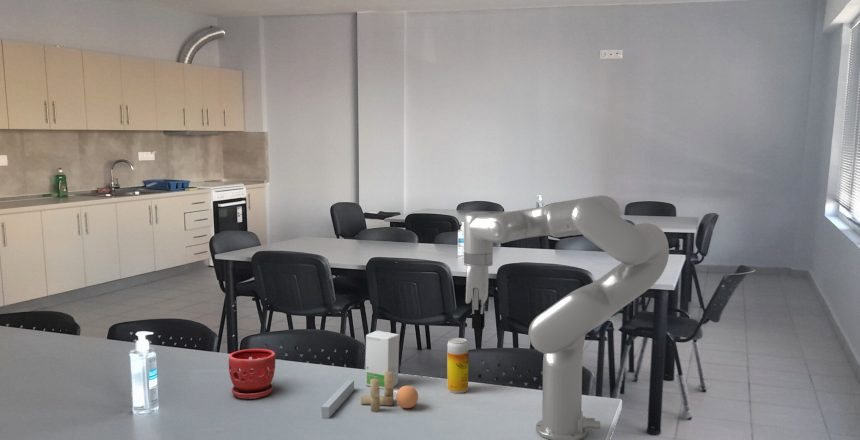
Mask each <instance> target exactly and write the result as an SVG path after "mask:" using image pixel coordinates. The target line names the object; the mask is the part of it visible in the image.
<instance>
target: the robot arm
mask: <svg viewBox="0 0 860 440" xmlns="http://www.w3.org/2000/svg"><path fill="white" fill-rule="evenodd" d="M577 235H578V236H579V235H582V236H583V237H584V238H586V239H587V240H589V241H590V243H592V244H593V245H595V246H596V247H597V248H599V249H600V250H602V251H604V252H605V253H607V254H608V255H609V256H610V257H612V258H613V259H615V260H616V261H618V263H619V264H618V265H616V266H614V268H611V269H610V270H609V271H608V272H606V274H604V275H603V276H601V277H599V278H598V279H596V280H595V281H593V282H591V283H589V284H586V285H583V286H581V287H579V288H577V289H575V290H573V291H570V292H569V293H568V294H567V295H565V296H563V297H562V298H560V299H559V300H558V301H557V302H555V303H554V304H552V305H551V306H549V307H548V308H547V309H545V310H544V311H543V312H541V313H539V314H538V315H537V316H536V317H534V318H533V320H532V321H531V322H530V324H529V327H528V339H529V342H530V344H531V345H532V347H533V348H534V349H535V350H536V351H538V352H539V353H542V354H543V358H542V359H543V360H542V401H541V402H542V410H541V411H542V414H541V415H542V417H541V420H540V421H538V422H537V423H536V425H535V432H536V433H537V434H538V435H540V437H543V438H545V439H548V440H582V439H584V438H586V436H587V435H588V429H593V430H594V429H595V430H601V421H600V420H596V418H595V417H586V416H584V415H583V414H584V413H583V410H582V407H583V406H582V404H583V401H582V397H583V395H582V394H583V391H582V390H583V389H582V387H583V358H584V357H583V356H584V355H583V354H584V347H585V342H586V341H585V339H586V335H587V334H588V333H590V332H591V331H593V330H595V329H596V328H597V327H599V326H600V325H602V324H604V323H605V322H607V321H608V320H609V319H610V318H611V317H613V316H614V315H615V314H616V313H617V312H619V311H620V310H621V309H623V308H624V307H626V306H628V305H629V304H631V303H632V302H633V301H634V300H635V299H637V298H639V297H640V296H642V295H643V294H644V293H646V292H647V291H648V290H650V288H651V287H653V286H654V285H655V284H656V283H657V281H659V279H660V278H661V276H662V275H663V273H664V272H665V270H666V268H667V265H668V261H669V255H670V247H669V241H668V238H667V236H666V234H665V232H664V231H663V230H662V229H661V227H659V226H657V225H656V224H652V223H649V222H648V223H646V222H643V223H638V224H634V225H633V224H632V223H630V222H628V220H626V219H624V218H623V217H621V208H620V205H619V203H618V202H617V200H615V199H614V198H612V197H610V196H608V195H596V196H595V195H593V196H590V197H589V196H588V197H581V198H576V199H570V200H564V201H556V202H551V203H548V204H547V205H544V206H539V207H532V208H526V209H519V210H512V211H506V212H500V213H494V214H491V213H490V212H488V211H471V212H466V214H464V217H463V265H464V266H466V283H465V285H466V286H465V304H467V305H469V304H470V303H471V308H472V309H471V311H472V312H471V329H475V330H476V329H477V330H484V329H485V327H486V326H485V325H486V324H485V321H486V319H485V318H486V316H485V315H486V313H485V303H486V302H487V299H488V296H489V267H491V266H493V263H494V261H493V257H494V255H493V254H494V252H493V251H494V250H493V249H494V244H504V243H509V242H512V241H513V242H514V241H517V240H522V239H527V238H528V239H529V238H535V237H536V238H537V237H544V236H547V237H548V236H551V237H554V238H563V237H570V236H577Z"/></svg>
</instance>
